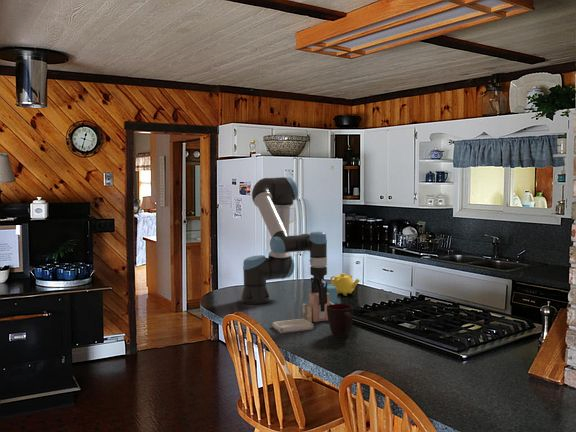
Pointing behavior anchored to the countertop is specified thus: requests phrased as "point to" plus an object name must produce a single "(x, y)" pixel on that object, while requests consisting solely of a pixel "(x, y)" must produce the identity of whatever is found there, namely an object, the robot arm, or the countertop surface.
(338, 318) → the cup
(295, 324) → the tray
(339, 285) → the teapot
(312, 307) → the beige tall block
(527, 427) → the countertop surface
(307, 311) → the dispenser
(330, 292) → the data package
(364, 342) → the countertop surface
